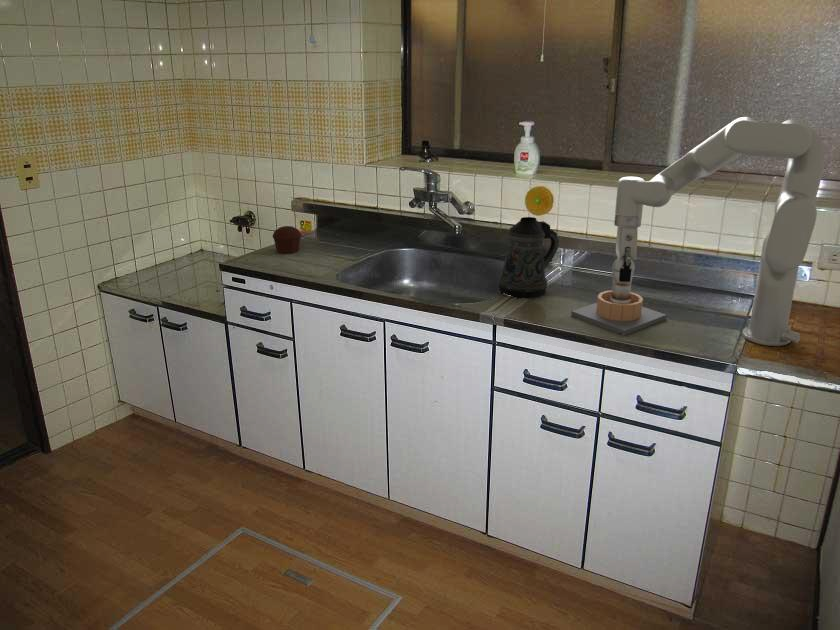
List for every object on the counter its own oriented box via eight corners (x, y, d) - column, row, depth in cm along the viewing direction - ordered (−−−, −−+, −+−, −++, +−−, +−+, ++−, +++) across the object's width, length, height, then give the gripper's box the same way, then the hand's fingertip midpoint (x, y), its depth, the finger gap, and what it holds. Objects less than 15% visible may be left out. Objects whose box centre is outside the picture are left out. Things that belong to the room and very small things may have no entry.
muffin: (270, 254, 285) (268, 230, 281) (276, 247, 295) (274, 223, 291) (300, 255, 284) (298, 230, 281) (305, 247, 295) (303, 223, 291)
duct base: (666, 319, 216) (668, 299, 214) (624, 335, 205) (626, 314, 203) (613, 301, 231) (614, 282, 229) (571, 315, 220) (572, 295, 217)
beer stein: (488, 291, 242) (489, 219, 232) (522, 277, 254) (525, 209, 245) (527, 302, 231) (531, 227, 222) (561, 288, 243) (566, 216, 234)
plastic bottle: (635, 313, 217) (641, 249, 210) (619, 317, 214) (625, 253, 206) (619, 306, 222) (625, 245, 215) (603, 311, 219) (609, 248, 211)
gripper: (645, 228, 198) (639, 286, 205) (636, 213, 214) (631, 267, 221) (618, 227, 199) (612, 285, 206) (611, 213, 215) (606, 267, 222)
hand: (622, 276), depth 213 cm, fingers open, 9 cm apart
